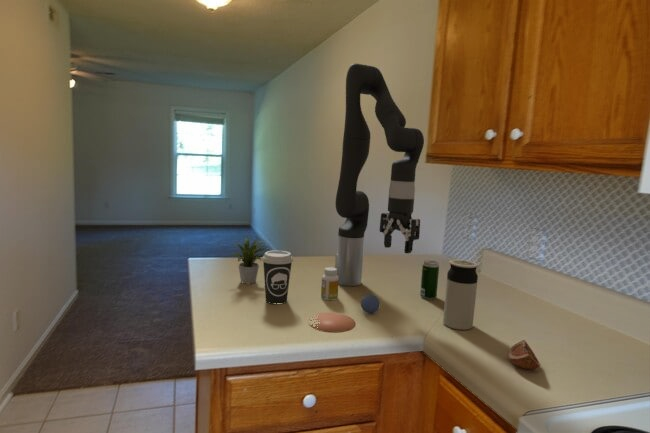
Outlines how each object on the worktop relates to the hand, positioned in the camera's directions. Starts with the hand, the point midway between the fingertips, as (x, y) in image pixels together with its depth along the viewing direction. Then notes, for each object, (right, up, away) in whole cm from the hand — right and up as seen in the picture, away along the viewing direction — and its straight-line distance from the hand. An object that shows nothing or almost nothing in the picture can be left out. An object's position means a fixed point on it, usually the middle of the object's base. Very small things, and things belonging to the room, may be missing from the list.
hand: (397, 250), depth 127 cm
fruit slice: (+23, -24, -31) cm, 46 cm away
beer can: (+13, -17, +14) cm, 25 cm away
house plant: (-49, -13, +20) cm, 54 cm away
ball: (-9, -16, -3) cm, 18 cm away
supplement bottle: (-21, -16, +8) cm, 27 cm away
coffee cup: (-37, -16, +4) cm, 40 cm away
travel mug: (+15, -20, -9) cm, 27 cm away
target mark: (-20, -19, -11) cm, 30 cm away
